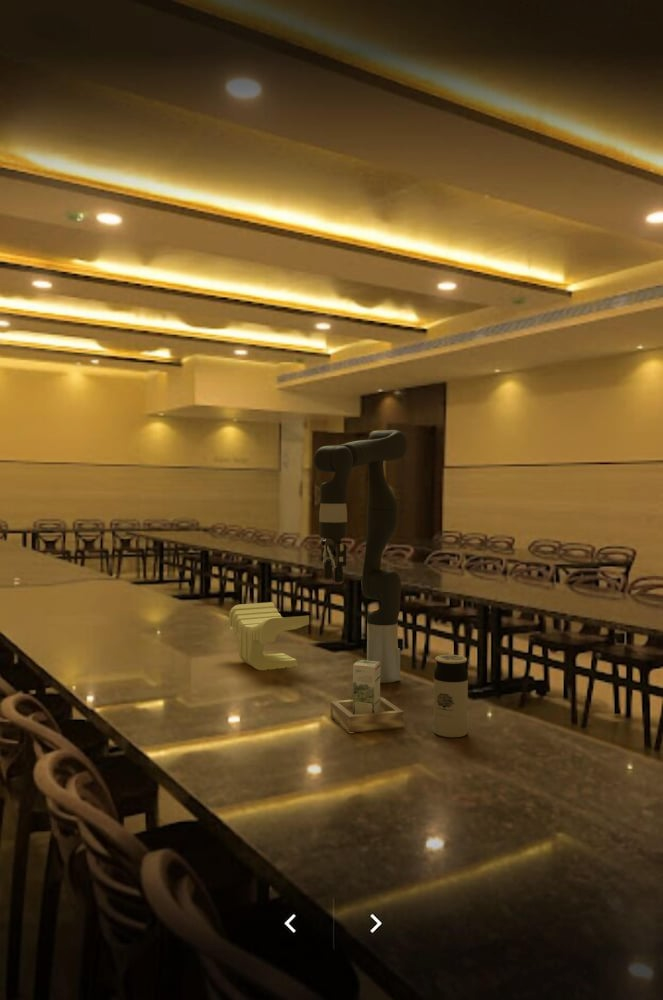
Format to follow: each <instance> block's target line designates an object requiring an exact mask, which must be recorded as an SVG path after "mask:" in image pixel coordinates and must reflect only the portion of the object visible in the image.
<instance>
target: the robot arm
mask: <svg viewBox="0 0 663 1000" xmlns="http://www.w3.org/2000/svg"><path fill="white" fill-rule="evenodd" d="M407 439H408V438H407V437H406V435H405V434H404V432H402V431H400V430H397V429H389V430H387V429H386V430H374V431H371V433H369V436H368V438H367V439H365V440H364V439H362V440H360V439H359V440H355V441H351V442H350V441H349V442H346V443H342V444H334V445H325V446H321V447H319V448H318V449H317V450H316V452H315V454H314V456H313V463H314V467H316V469H317V470H318V471H319V472H322V473H334V475H333V477H332V479H330V480H328V481H324V482H322V483H321V485H320V491H319V492H320V504H319V517H318V518H319V520H318V521H319V526H318V527H319V531H318V532H319V538H321V542H320V562H322V564H323V577H324V579H326V580H327V579H332V578H333V581H334V582H335V583H342V582H343V580H344V578H343V576H344V575H343V574H344V572H343V571H344V567H346V566H347V544H346V543H343V542H342V539H346V538H347V537H348V508H347V487H348V484H349V479H350V476H351V472H352V470H353V468H356V467H359V466H362V465H363V466H364V465H367V472H368V475H367V476H368V477H367V478H368V483H367V485H368V487H367V488H368V490H367V491H368V493H367V509H366V540H365V552H364V560H363V567H362V577H361V590H362V594H363V596H364V597H365V599H369V600H375V601H380V607H379V608H378V609H377V610H372V611H370V612H369V613H368V614H367V615H366V616H367V617H366V618H367V620H366V622H367V624H366V640H367V641H366V661H376V662H380V684H389V683H394V682H397V681H401V648H400V647H399V643H398V640H399V634H398V633H399V632H398V631H399V629H398V627H399V615H400V609H401V593H402V581H401V577H400V574H399V573H398V572H397V571H395V570H392V569H382V567H381V565H382V557H383V554H384V553H383V552H384V550H385V549H386V547H387V545H388V543H389V542H390V541H391V538H392V537H393V535H394V534H395V532H396V529H397V528H398V527H397V526H398V510H399V509H398V508H399V507H398V502H397V499H396V497H395V495H394V493H393V491H392V489H391V488H390V486H389V484H388V482H387V480H386V476H385V470H384V462H387V461H388V462H390V461H391V462H393V461H399V460H401V459H403V458H404V457H405V455H407V452H408V451H407V450H408V441H407ZM322 539H323V540H322ZM324 539H325V540H324ZM332 564H333V565H332Z"/></svg>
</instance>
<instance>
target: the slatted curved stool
mask: <svg viewBox="0 0 663 1000" xmlns="http://www.w3.org/2000/svg"><path fill="white" fill-rule="evenodd" d="M307 625H310V615H298V616H285V617H283V616H282V615H281V613H279V611H278V609H277V607H276V606H275V604H274V602H273V601H269V602H255V603H254V602H253V603H244V604H243V603H241V604H239V603H238V604H236V605H234V606H233V607H231V608H230V610H229V613H228V628H233V629H234V630H235V633H236V634H237V635H236V636H237V644H238V645H237V646H238V657H239V659H240V660H241V661H242V662H244V663H246V664H247V665H249V666H251V667H252V668H254V669H257V670H259V671H268V670H267V669H269V670H276V668H278V669H285V667H287V668H293V667H292V666H296V667H299V665H298V660H297V659H296V658H293V657H291V656H290V655H287V654H286V653H283V652H282V653H281V652H280V653H264V648H265V645H266V644H272V643H273V644H275V643H276V639H277V637H278V635H279V634H280V633H281V632H285V631H290V630H298V629H299V628H300V629H301V628H302V627H305V626H307Z"/></svg>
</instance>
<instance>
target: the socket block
mask: <svg viewBox="0 0 663 1000" xmlns="http://www.w3.org/2000/svg"><path fill="white" fill-rule="evenodd" d="M331 717H332V718H333V719H334V720H333V719H332V718H331ZM330 718H331V719H332V720H333V721H335V720H336V721H337V722H338V723H339V724H340V725H342V726H343V727H344V728H345V729H346V730H348V731H349V732H362V733H367V732H366V731H371V732H378V731H379V732H380V730H381V731H387V730H398V729H404V728H405V711H404V710H402V709H400V707H398V706H396V705H395V704H393V703H392V702H390V701H389V700H387V699H385V698H384V697H383V696H380V712H376V713H366V714H356V715H353V698H352V699H344V700H342V699H340V700H333V701H332V700H331V701H330ZM336 721H335V722H336ZM337 722H336V723H337ZM338 723H337V724H338ZM339 724H338V725H339ZM340 725H339V726H340ZM343 727H342V728H343ZM344 728H343V729H344ZM345 729H344V730H345ZM346 730H345V731H346Z"/></svg>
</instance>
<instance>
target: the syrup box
mask: <svg viewBox="0 0 663 1000" xmlns="http://www.w3.org/2000/svg"><path fill="white" fill-rule="evenodd" d="M380 697H381V683H380V662H376V661H367V660H363V659H358V660H357V661H355V662H354V663H353V665H352V699H353V715H356V714H366V713H376V712H380Z"/></svg>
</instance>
